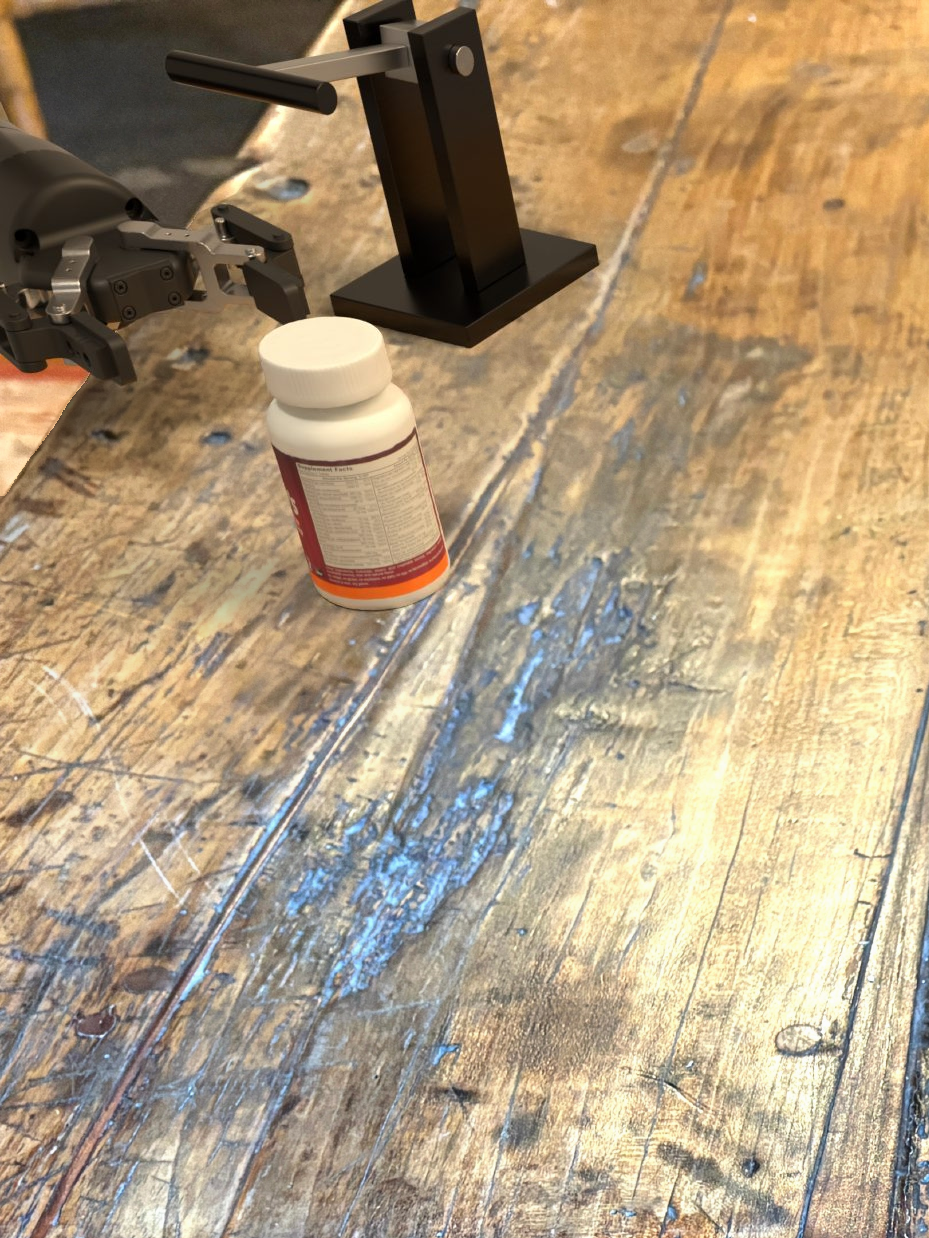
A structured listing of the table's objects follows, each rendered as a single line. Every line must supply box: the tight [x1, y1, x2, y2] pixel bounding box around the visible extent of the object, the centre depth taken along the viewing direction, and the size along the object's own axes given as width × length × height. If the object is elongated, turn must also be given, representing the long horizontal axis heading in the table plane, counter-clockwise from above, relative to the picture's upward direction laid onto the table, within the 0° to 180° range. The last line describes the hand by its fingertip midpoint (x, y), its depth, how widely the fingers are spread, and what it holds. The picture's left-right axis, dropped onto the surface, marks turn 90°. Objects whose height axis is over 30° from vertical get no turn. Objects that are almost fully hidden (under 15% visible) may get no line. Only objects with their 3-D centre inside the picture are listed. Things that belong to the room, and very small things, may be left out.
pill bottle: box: [257, 316, 451, 611], centre depth 98 cm, size 6×6×11 cm
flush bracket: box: [329, 0, 600, 349], centre depth 118 cm, size 12×9×14 cm
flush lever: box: [164, 18, 428, 116], centre depth 110 cm, size 14×9×2 cm, turn 157°
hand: (213, 335), depth 102 cm, fingers open, 8 cm apart
